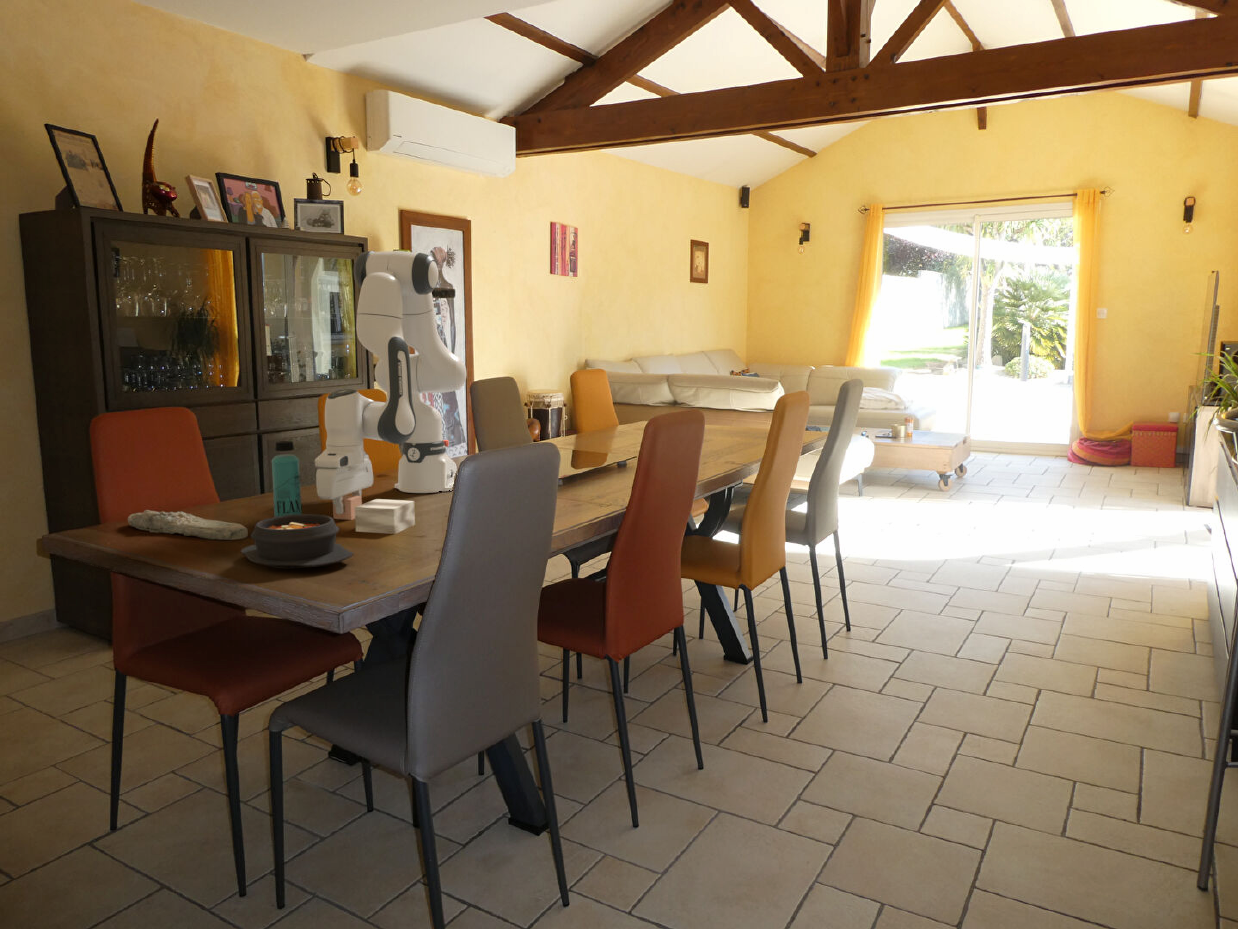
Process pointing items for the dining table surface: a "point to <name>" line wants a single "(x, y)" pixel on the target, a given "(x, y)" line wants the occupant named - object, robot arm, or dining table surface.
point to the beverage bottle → (286, 481)
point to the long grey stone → (186, 525)
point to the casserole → (296, 542)
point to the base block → (384, 516)
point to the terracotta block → (348, 507)
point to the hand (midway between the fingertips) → (347, 510)
